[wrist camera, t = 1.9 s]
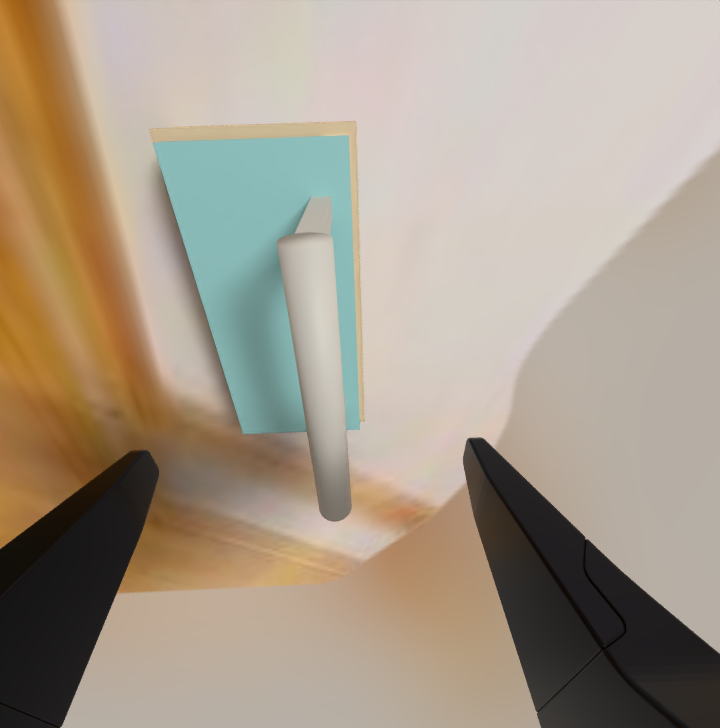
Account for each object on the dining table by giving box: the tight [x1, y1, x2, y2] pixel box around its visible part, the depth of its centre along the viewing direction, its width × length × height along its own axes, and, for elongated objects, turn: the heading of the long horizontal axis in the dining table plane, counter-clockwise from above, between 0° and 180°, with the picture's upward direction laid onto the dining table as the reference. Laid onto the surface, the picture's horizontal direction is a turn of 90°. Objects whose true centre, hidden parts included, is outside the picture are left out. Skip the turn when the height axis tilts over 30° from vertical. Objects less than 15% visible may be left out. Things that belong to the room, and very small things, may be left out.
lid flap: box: [153, 135, 360, 521], centre depth 15 cm, size 15×7×8 cm, turn 2°
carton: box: [149, 121, 365, 422], centre depth 19 cm, size 16×8×3 cm, turn 2°
